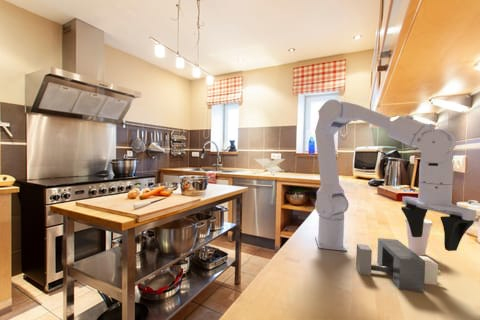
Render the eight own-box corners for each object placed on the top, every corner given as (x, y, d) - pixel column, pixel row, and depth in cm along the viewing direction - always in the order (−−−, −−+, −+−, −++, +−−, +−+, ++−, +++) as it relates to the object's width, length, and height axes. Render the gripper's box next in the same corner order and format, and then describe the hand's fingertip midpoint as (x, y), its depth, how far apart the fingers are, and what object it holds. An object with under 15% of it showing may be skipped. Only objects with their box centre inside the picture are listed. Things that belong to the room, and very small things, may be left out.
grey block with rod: (355, 266, 56) (356, 243, 56) (431, 276, 53) (432, 250, 52) (360, 275, 52) (361, 249, 52) (442, 285, 49) (443, 258, 48)
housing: (377, 262, 59) (378, 237, 58) (396, 264, 58) (397, 239, 57) (399, 289, 47) (400, 258, 47) (423, 292, 46) (425, 261, 46)
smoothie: (418, 248, 69) (420, 202, 68) (437, 257, 62) (439, 207, 62) (398, 247, 68) (400, 202, 68) (415, 257, 62) (417, 207, 62)
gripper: (392, 179, 57) (390, 232, 57) (456, 188, 42) (453, 258, 43) (416, 179, 58) (414, 231, 58) (486, 187, 44) (482, 256, 44)
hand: (432, 242), depth 51 cm, fingers open, 7 cm apart
